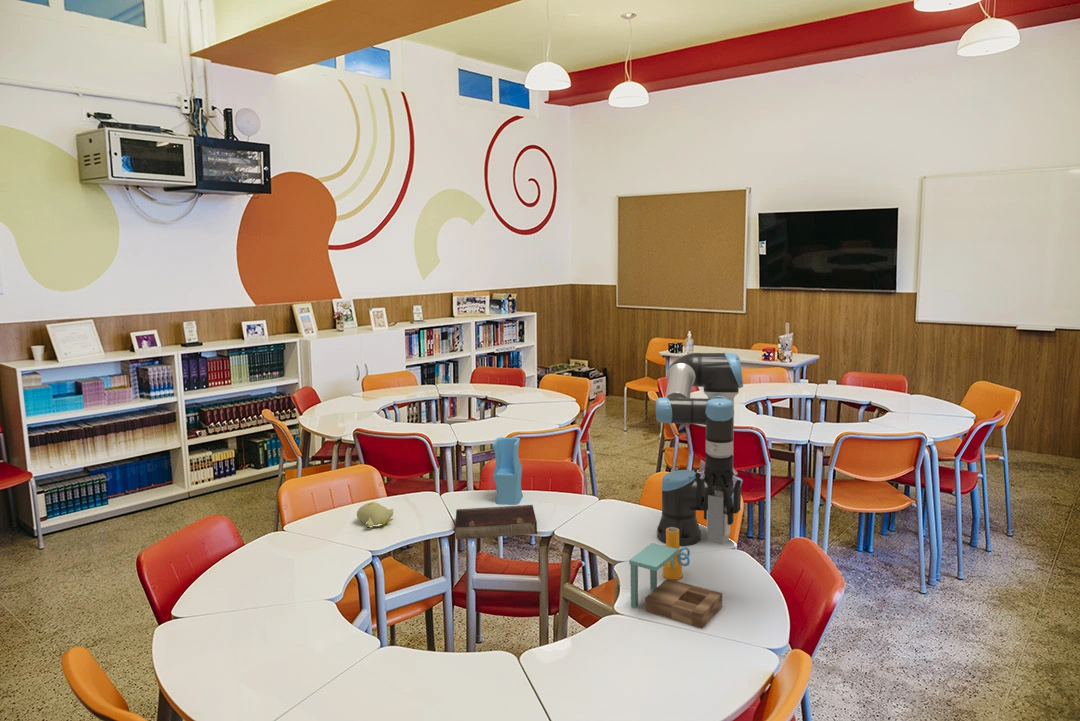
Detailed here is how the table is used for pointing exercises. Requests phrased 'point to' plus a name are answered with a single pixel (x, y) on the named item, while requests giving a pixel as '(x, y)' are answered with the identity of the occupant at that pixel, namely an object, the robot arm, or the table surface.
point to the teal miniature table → (649, 566)
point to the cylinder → (675, 564)
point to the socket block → (684, 602)
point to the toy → (374, 514)
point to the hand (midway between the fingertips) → (718, 532)
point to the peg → (716, 518)
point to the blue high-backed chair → (507, 471)
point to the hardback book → (495, 522)
